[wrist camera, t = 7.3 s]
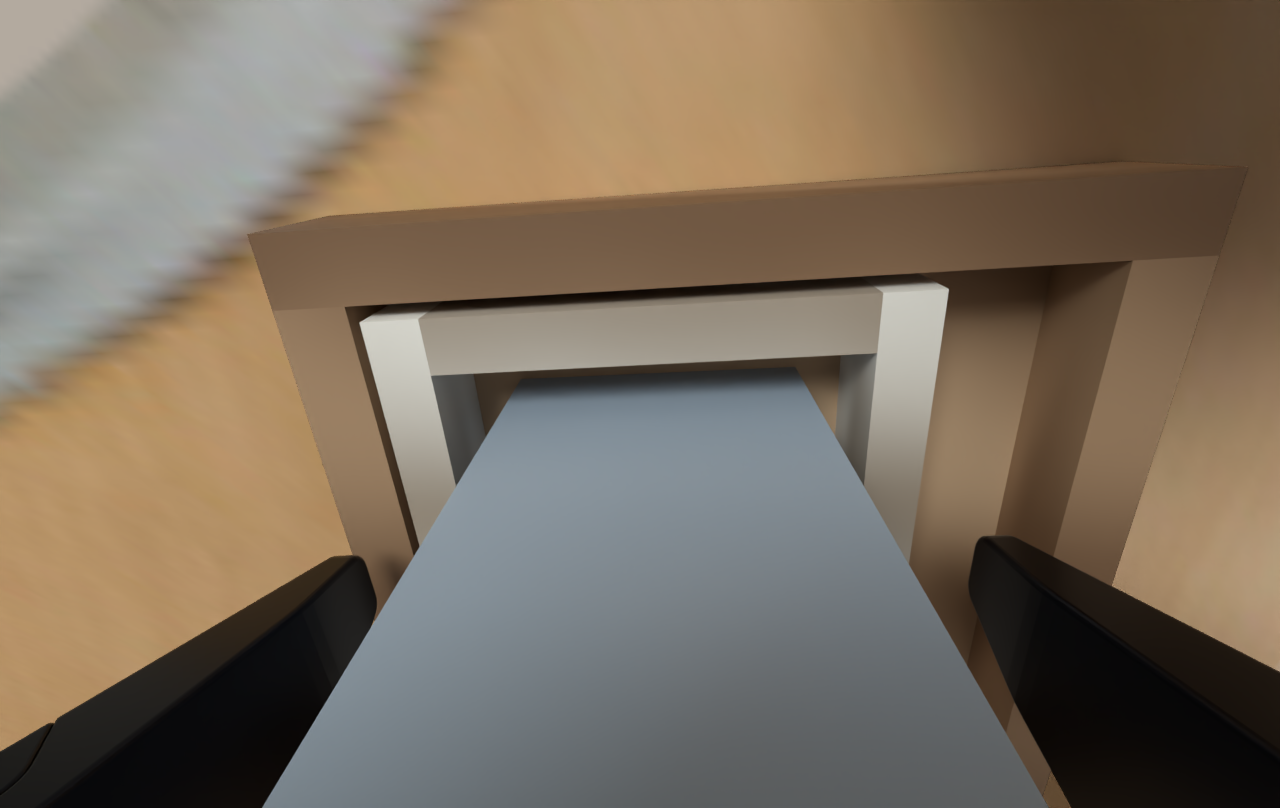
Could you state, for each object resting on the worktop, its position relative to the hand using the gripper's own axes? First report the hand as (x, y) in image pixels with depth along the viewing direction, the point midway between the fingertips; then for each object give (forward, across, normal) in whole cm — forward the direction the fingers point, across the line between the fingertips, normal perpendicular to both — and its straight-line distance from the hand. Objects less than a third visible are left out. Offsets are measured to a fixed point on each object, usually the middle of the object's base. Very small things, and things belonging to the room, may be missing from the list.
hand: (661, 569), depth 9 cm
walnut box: (+3, -1, +2) cm, 3 cm away
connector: (+2, 0, 0) cm, 2 cm away
